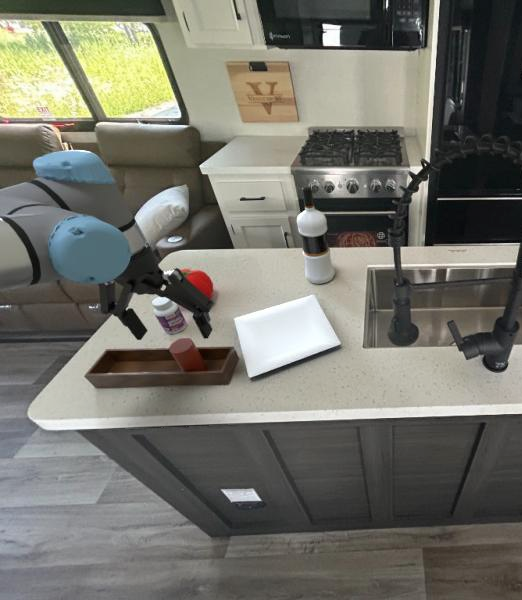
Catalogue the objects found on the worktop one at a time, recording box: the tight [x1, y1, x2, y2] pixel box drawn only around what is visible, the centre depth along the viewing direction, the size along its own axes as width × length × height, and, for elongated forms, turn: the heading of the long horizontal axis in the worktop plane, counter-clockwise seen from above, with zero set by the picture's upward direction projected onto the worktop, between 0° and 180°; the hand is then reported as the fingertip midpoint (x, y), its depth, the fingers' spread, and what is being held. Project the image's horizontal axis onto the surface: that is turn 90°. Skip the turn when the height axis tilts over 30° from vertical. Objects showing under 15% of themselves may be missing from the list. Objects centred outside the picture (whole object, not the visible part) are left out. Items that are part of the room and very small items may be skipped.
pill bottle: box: [151, 296, 188, 335], centre depth 85 cm, size 5×5×10 cm
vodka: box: [296, 185, 335, 285], centre depth 98 cm, size 9×9×30 cm
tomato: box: [180, 267, 214, 300], centre depth 94 cm, size 11×13×10 cm
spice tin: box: [168, 337, 207, 372], centre depth 74 cm, size 5×5×9 cm
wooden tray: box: [84, 345, 240, 389], centre depth 76 cm, size 29×8×4 cm, turn 93°
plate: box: [233, 294, 341, 379], centre depth 87 cm, size 22×22×2 cm
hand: (175, 334), depth 70 cm, fingers open, 13 cm apart
